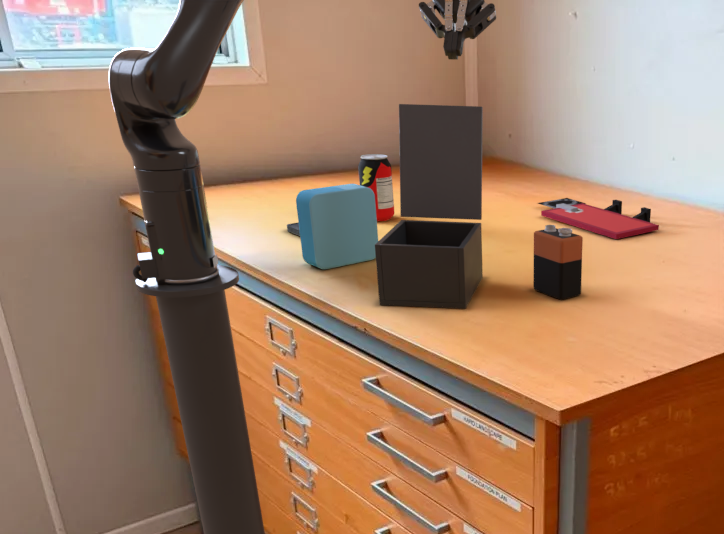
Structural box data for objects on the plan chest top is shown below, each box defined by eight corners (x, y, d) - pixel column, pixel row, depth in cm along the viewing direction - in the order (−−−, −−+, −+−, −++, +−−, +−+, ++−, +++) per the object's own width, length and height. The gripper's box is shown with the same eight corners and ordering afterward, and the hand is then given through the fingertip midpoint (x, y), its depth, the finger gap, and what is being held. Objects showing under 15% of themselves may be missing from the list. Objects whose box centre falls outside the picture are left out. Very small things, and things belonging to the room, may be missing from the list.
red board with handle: (573, 201, 192) (519, 210, 183) (573, 188, 190) (518, 197, 182) (671, 229, 172) (616, 241, 163) (672, 215, 170) (616, 226, 162)
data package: (365, 253, 151) (359, 182, 145) (380, 258, 148) (374, 186, 143) (303, 265, 143) (294, 191, 138) (317, 271, 140) (308, 195, 135)
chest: (465, 308, 125) (463, 248, 121) (379, 305, 126) (374, 244, 122) (482, 278, 139) (481, 222, 135) (404, 274, 140) (401, 219, 136)
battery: (560, 301, 129) (561, 233, 125) (531, 290, 134) (532, 224, 129) (582, 295, 132) (584, 229, 127) (553, 285, 137) (554, 221, 132)
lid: (481, 106, 130) (482, 107, 131) (398, 103, 131) (400, 104, 132) (480, 219, 135) (481, 219, 135) (400, 216, 135) (401, 216, 136)
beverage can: (387, 214, 178) (382, 152, 173) (399, 220, 173) (395, 157, 168) (357, 217, 175) (352, 154, 169) (369, 223, 170) (364, 159, 165)
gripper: (418, -51, 140) (405, 37, 135) (500, -49, 139) (490, 39, 134) (427, -13, 147) (415, 71, 142) (505, -12, 146) (496, 73, 141)
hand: (452, 55), depth 138 cm, fingers closed
